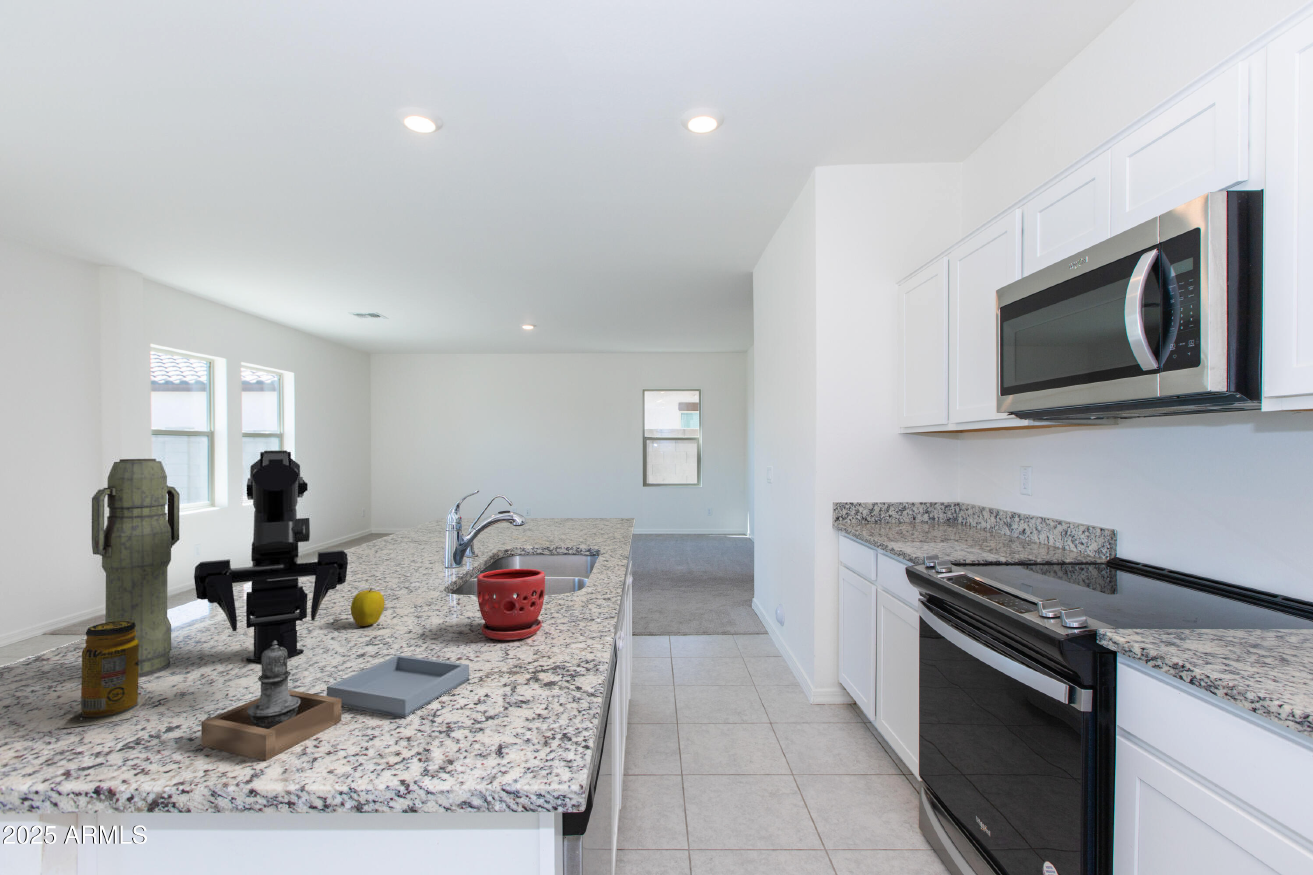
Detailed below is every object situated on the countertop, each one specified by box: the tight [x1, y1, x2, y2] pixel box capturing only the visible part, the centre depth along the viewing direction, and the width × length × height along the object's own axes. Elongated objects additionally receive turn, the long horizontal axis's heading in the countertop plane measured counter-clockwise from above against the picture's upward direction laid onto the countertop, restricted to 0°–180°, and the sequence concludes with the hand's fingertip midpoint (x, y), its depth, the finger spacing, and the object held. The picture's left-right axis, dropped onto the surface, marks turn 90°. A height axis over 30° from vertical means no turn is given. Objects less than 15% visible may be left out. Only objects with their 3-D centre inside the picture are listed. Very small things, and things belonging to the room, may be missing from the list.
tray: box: [326, 654, 470, 718], centre depth 92 cm, size 14×14×2 cm
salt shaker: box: [247, 640, 301, 729], centre depth 79 cm, size 6×6×12 cm
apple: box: [350, 587, 386, 627], centre depth 126 cm, size 6×6×8 cm
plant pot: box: [476, 568, 546, 641], centre depth 121 cm, size 13×13×12 cm
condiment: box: [59, 620, 150, 729], centre depth 85 cm, size 7×8×12 cm
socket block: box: [200, 689, 342, 762], centre depth 79 cm, size 11×11×3 cm
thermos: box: [91, 458, 181, 678], centre depth 102 cm, size 9×12×35 cm
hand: (274, 624), depth 85 cm, fingers open, 9 cm apart
